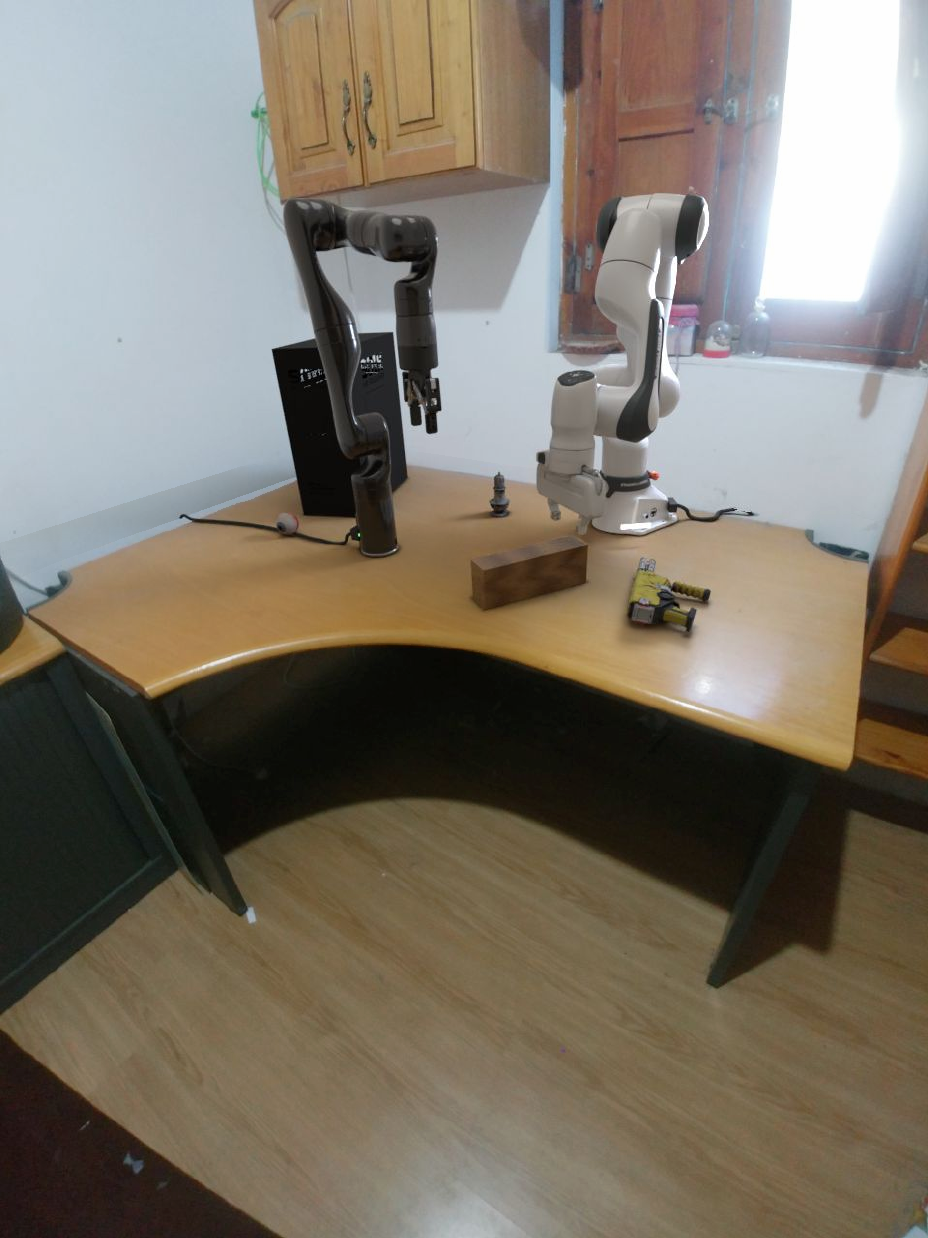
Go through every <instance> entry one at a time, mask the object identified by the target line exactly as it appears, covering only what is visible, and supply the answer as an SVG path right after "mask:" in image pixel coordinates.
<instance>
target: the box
mask: <svg viewBox="0 0 928 1238" xmlns="http://www.w3.org/2000/svg"><path fill="white" fill-rule="evenodd" d="M588 553H589V544H588V543H586V542H585V541H583V540H581V539H579V538H578V537H576V536H574V535H572V534H570V535H567V536H566V535H565V536H563V537H557V538H553V539H549V540H546V541H540V542H537V543H533V544H529V545H524V546H520V547H517V548H512V549H507V550H504V551H499V552H496V553H490V554H487V555H483V556H479V557H474V558H470V577H471V579H470V580H471V597H472V599H473V600H474V601H475V602H476V603H477V604H479V606H480V607H482V608H483V609H484V610H485V611H486V610H491V609H493V608H497V607H500V606H504V605H508V604H512V603H515V602H518V601H522V600H526V599H530V598H533V597H537V596H541V595H545V594H547V593H551V592H552V593H553V592H555V591H559V590H562V589H566V588H569V587H573V586H577V585H581V584H583V583H584V584H585V583H587V571H588V555H589V554H588Z"/></svg>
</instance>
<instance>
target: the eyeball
mask: <svg viewBox="0 0 928 1238" xmlns="http://www.w3.org/2000/svg"><path fill="white" fill-rule="evenodd" d="M299 525H300V522H299V519H298V517H297V516H296V515H295V514H294V513H292V512H287V511H286V512H282V513H280V514H279V515H278V516H277V517H276V520H275V527H276V528H277V529H278V530H279V531H278V532H280V533H281V534H282V535H285V536H286V535H287V536H289V535H292V533H294V532H297V531H298V529H299Z"/></svg>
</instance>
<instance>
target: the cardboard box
mask: <svg viewBox="0 0 928 1238" xmlns="http://www.w3.org/2000/svg"><path fill="white" fill-rule="evenodd" d="M358 336H359V340H360V345H361V354H360V360H359V364H358V367H357V371H356V374H355V377H354V381H353V385H352V394H351V397H352V407H353V413H354V415H359V414H364V413H369V412H377V413H379V414H380V415H381V416H382V417H383V418H384V420H385V422H386V424H387V428H388V432H389V441H390V458H391V474H390V481H391V490H392V494H393V493H394V492H395V491H396V490H397V489H398V488H399V487H400V486H401V485H402V484H403V483H404V482H405V481H406V480H407V479H408V478H409V476H408V466H407V465H408V464H407V456H406V455H407V454H406V447H405V437H404V436H405V435H404V427H403V425H404V424H403V416H402V415H403V414H402V407H401V397H400V386H399V375H398V367H397V357H396V345H395V335H394V331H383V332H381V331H380V332H358ZM271 354H272V359H273V365H274V370H275V374H276V380H277V385H278V389H279V394H280V395H279V396H280V400H281V405H282V410H283V416H284V421H285V426H286V432H287V436H288V441H289V447H290V452H291V456H292V461H293V467H294V473H295V477H296V484H297V487H298V493H299V497H300V503H301V508H302V513H303V515H304V516H334V517H355V513H356V508H355V502H354V495H353V488H352V482H351V474H352V473H353V471H355V470H356V469H357V468H359V467H360V466H361V465H362V464H363V463H364V461H365V460H366V457H367V456H365V457H361V458H357V459H349V458H347V457H346V456H345V455H344V454H343V452H342V450H341V448H340V445H339V442H338V439H337V435H336V429H335V424H334V418H333V412H332V406H331V400H330V394H329V390H328V385H327V381H326V377H325V373H324V369H323V365H322V361H321V358H320V354H319V351H318V347H317V343H316V339H315V337H314V338H311V339H306V340H303V341H297V342H295V343H290V344H286V345H281V346H278V347H274V348H271ZM362 360H364V361H365V362H362ZM378 361H379V362H378Z"/></svg>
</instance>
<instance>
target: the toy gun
mask: <svg viewBox="0 0 928 1238" xmlns="http://www.w3.org/2000/svg"><path fill="white" fill-rule="evenodd" d="M647 559H648V558H647V557H641V558H640V560H639V563H638V568H637V569H636V571H635V576H634V581H633V585H632V588H631V593H630V597H629V601H628V605H627V610H626V618H627V619H628V620H630V621H633V622H634V624H636V625H638V624H639V625H641V626H644V625H645V624H648V625H656V624H658V623H661V622H663V621H665V622H668V623H671V624H675V625H679V626H681V627H684V628H685V632H687V633H690V632H691V629H692V627H693V625H694V622H695V619H696V614H697V611H698V609H697V608H694V607H691V608H690V610H689V611H687V610H685V609H682V608H681V605H680V602H678V601H676V600H675V599H676V598H675V594H679V595H682V596H684V595H685V596H686V597H692V598H693V599H698V600H699V601H703V602H708V601H709V598H710V597H711V593H712V591H711V589H710V588H705V587H702V588H701V587H700V586H694V585H692V584H687V583H685V582H680V581H677V580H676V581H674V582H673V583H671V582H670V580H669V579H668V577H666V576H662V575H659V574H655V569H656V563H657V562H656V560H655V559H654V558H649V561H647ZM646 562H647V563H648V564H647V563H646ZM674 593H675V594H674Z"/></svg>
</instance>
